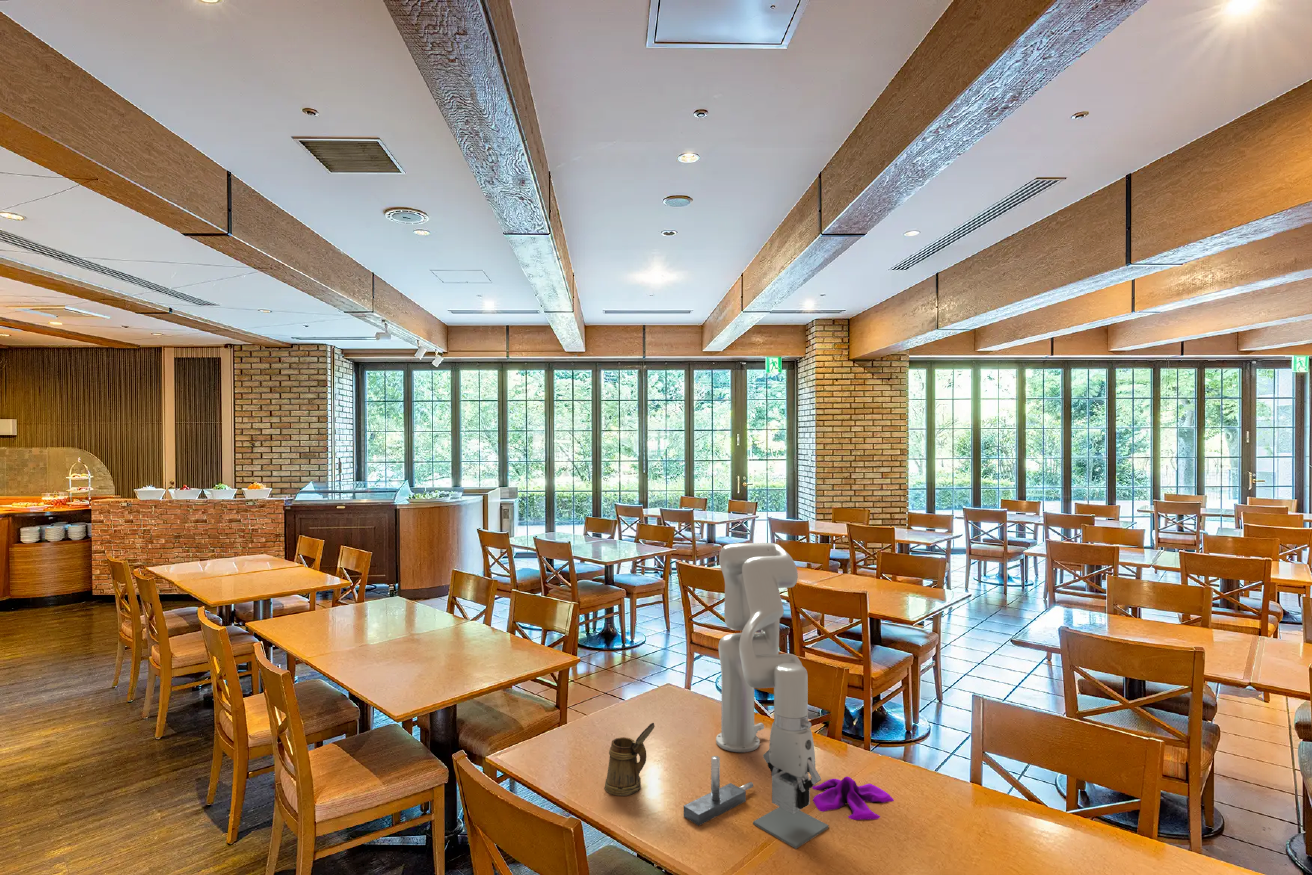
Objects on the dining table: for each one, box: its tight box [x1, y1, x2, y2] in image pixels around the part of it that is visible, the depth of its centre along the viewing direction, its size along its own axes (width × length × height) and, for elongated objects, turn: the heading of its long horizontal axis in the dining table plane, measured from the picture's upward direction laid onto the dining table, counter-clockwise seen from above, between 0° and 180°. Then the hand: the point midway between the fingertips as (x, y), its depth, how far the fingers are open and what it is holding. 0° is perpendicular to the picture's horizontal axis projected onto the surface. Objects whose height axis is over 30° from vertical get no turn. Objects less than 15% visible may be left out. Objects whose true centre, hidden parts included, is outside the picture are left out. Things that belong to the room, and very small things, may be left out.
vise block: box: [683, 755, 754, 827], centre depth 156 cm, size 21×5×12 cm, turn 131°
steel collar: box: [771, 771, 811, 814], centre depth 147 cm, size 6×6×6 cm
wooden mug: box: [604, 722, 656, 797], centre depth 163 cm, size 9×14×18 cm, turn 59°
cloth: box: [811, 776, 895, 821], centre depth 159 cm, size 22×19×6 cm
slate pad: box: [752, 806, 830, 850], centre depth 147 cm, size 12×12×1 cm
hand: (791, 799), depth 147 cm, fingers closed on steel collar, 6 cm apart
